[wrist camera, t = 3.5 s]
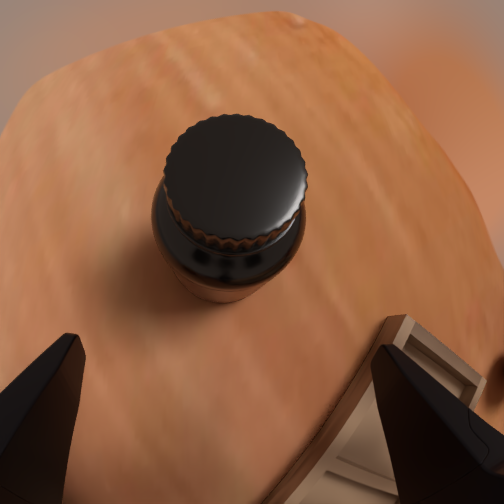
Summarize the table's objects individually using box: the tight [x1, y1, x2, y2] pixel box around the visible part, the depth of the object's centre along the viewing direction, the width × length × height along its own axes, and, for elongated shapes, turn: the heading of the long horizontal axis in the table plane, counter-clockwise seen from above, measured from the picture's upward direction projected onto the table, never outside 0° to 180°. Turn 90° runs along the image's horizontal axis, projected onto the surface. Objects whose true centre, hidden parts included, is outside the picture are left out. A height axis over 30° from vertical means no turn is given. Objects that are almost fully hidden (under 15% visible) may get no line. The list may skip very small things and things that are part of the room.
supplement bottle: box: [151, 114, 308, 303], centre depth 15 cm, size 7×7×12 cm
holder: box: [262, 314, 487, 504], centre depth 17 cm, size 23×12×2 cm, turn 145°
